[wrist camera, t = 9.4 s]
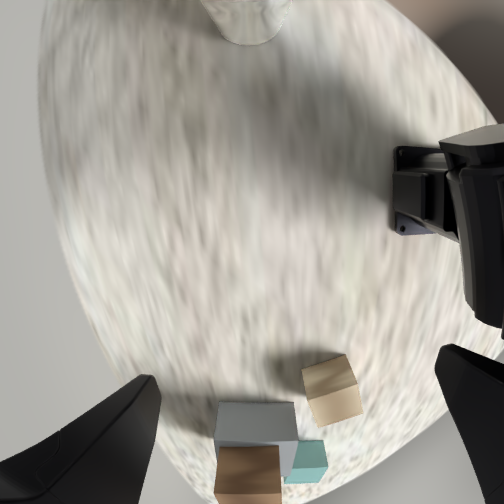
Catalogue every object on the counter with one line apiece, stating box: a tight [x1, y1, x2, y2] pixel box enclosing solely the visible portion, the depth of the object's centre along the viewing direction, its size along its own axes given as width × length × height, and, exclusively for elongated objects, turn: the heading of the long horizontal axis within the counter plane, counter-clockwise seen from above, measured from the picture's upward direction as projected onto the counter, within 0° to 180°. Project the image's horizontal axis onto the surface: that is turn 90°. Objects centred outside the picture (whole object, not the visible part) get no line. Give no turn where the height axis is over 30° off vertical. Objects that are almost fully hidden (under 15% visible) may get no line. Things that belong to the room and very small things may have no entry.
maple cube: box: [301, 354, 363, 428], centre depth 21 cm, size 4×4×4 cm
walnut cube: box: [214, 445, 282, 504], centre depth 18 cm, size 5×5×5 cm
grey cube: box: [214, 401, 299, 476], centre depth 23 cm, size 7×7×5 cm
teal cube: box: [284, 440, 328, 484], centre depth 25 cm, size 4×4×4 cm
